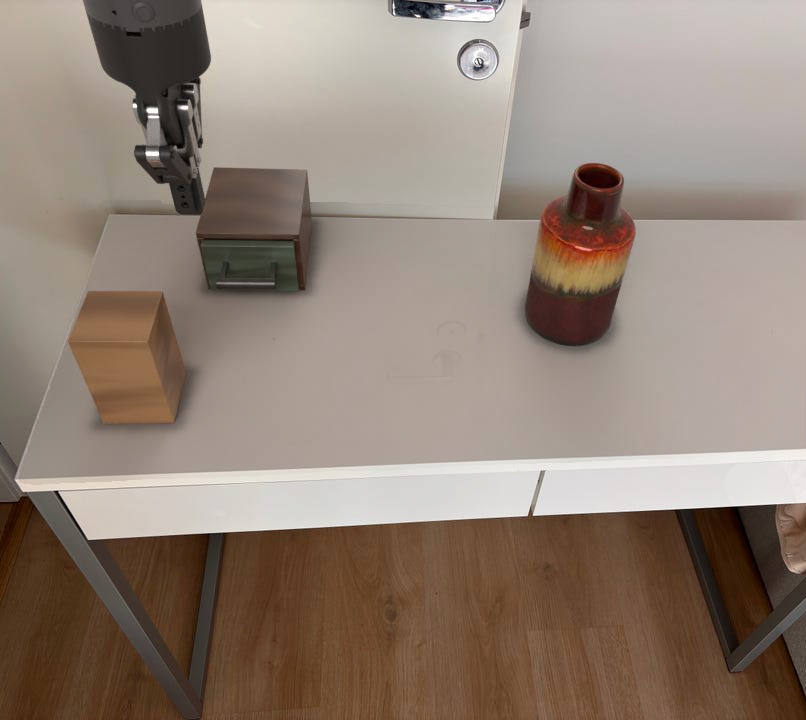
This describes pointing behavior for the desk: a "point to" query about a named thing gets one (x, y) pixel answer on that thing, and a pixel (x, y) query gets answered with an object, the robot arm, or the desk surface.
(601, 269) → the vase
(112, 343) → the stand
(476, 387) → the desk surface
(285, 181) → the cabinet
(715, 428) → the desk surface
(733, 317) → the desk surface
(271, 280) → the drawer
